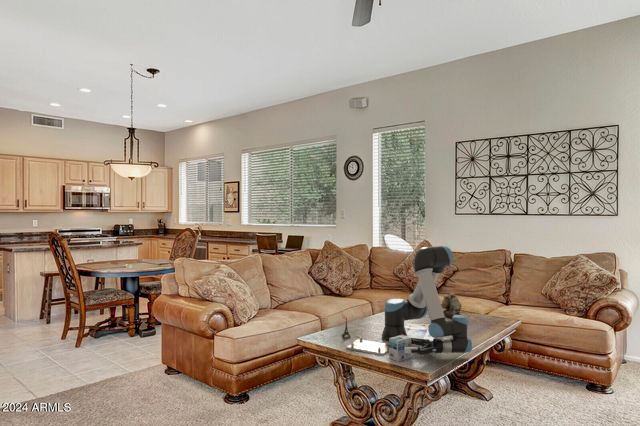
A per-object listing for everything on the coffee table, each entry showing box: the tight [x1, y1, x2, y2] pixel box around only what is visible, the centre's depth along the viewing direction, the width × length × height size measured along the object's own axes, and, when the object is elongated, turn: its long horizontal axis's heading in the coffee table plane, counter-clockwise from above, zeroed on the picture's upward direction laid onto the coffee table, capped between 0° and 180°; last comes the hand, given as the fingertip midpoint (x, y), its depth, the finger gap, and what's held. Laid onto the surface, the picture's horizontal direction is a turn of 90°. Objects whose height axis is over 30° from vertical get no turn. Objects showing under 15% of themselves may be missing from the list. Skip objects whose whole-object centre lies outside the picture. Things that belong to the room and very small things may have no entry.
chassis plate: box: [345, 336, 389, 356], centre depth 246 cm, size 16×22×3 cm
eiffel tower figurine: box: [332, 317, 361, 340], centre depth 266 cm, size 15×10×13 cm
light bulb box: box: [388, 335, 412, 362], centre depth 230 cm, size 11×7×11 cm, turn 126°
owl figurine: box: [441, 292, 462, 320], centre depth 315 cm, size 18×12×17 cm, turn 34°
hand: (401, 346), depth 229 cm, fingers open, 13 cm apart
